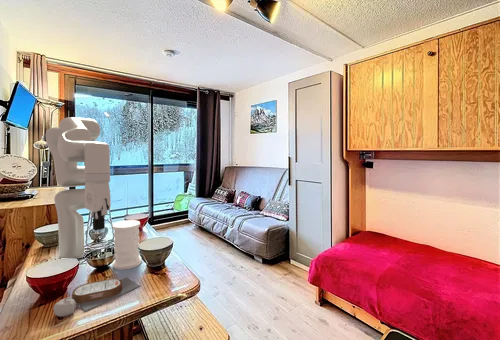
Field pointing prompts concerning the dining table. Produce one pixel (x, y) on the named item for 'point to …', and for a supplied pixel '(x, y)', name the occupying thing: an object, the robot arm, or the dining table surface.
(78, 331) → the dining table surface
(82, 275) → the dining table surface
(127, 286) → the mat
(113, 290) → the tin
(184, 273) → the dining table surface
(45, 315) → the dining table surface
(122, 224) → the decorative container
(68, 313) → the garlic
